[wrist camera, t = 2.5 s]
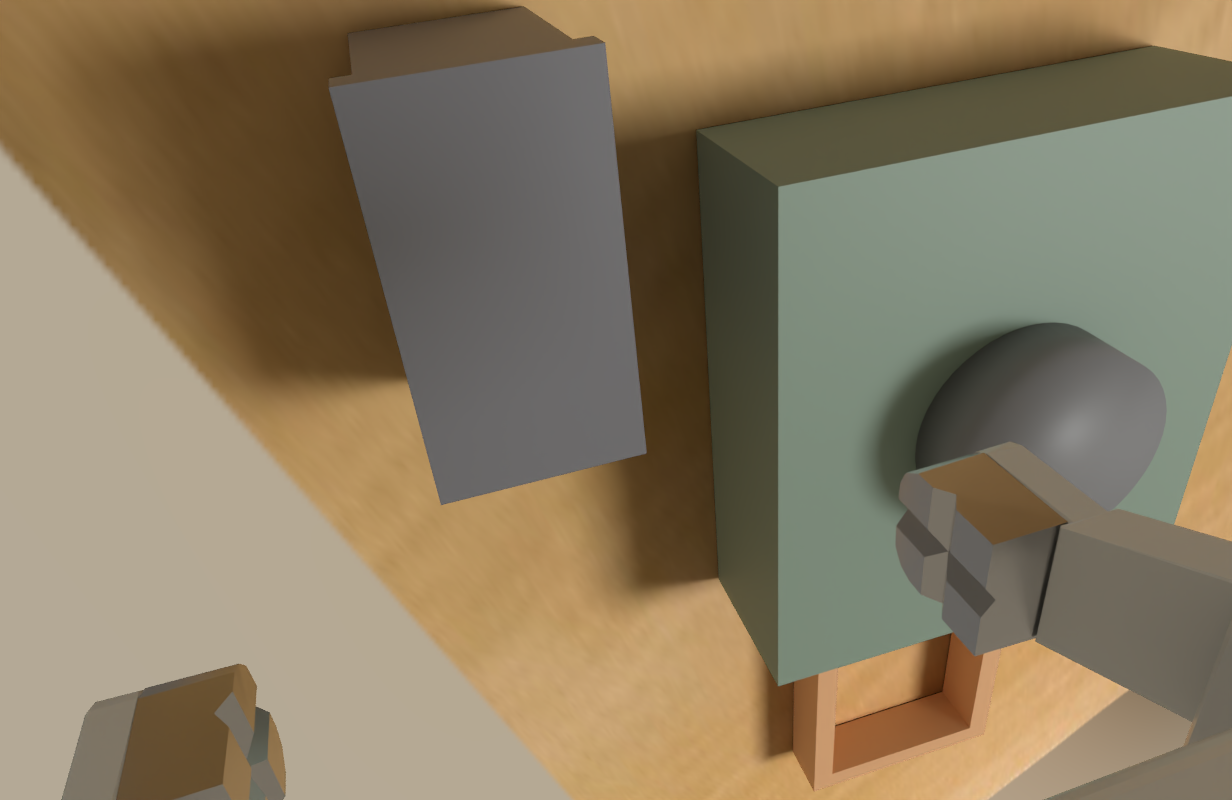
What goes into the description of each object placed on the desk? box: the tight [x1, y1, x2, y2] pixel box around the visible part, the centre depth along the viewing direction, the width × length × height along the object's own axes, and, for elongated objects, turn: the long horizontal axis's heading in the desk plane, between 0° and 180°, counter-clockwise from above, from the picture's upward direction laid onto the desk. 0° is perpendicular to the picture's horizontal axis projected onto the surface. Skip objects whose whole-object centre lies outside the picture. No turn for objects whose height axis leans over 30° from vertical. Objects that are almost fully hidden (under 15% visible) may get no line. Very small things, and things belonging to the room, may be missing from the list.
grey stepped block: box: [329, 6, 647, 505], centre depth 20 cm, size 5×9×6 cm, turn 6°
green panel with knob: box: [696, 46, 1232, 791], centre depth 28 cm, size 14×27×7 cm, turn 6°
